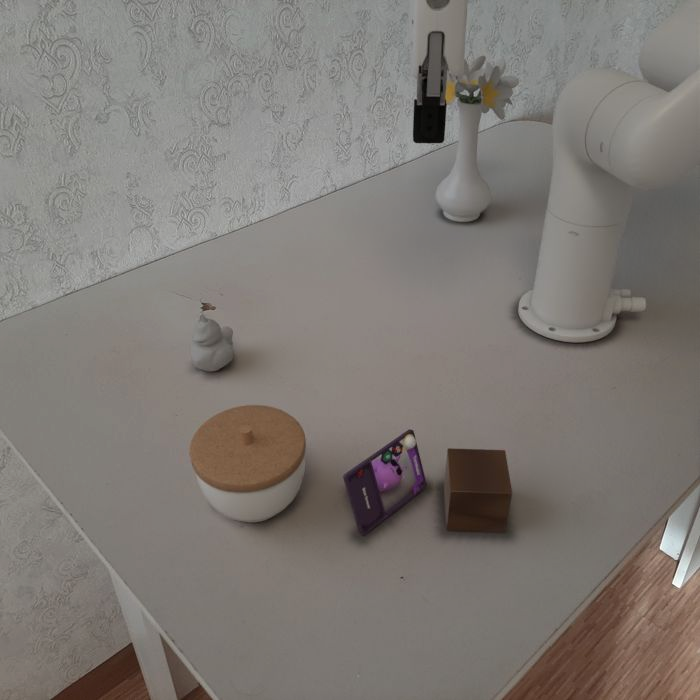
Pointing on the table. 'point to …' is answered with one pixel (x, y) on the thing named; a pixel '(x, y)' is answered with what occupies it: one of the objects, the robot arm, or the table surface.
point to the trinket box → (249, 461)
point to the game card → (382, 481)
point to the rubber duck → (211, 345)
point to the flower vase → (472, 136)
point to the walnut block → (477, 490)
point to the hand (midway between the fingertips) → (428, 140)
